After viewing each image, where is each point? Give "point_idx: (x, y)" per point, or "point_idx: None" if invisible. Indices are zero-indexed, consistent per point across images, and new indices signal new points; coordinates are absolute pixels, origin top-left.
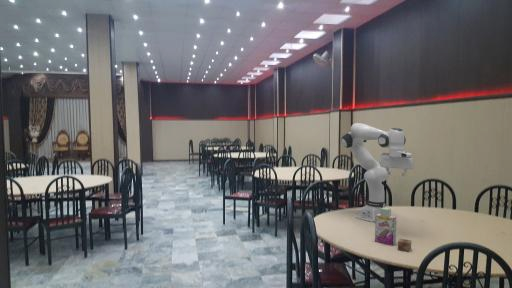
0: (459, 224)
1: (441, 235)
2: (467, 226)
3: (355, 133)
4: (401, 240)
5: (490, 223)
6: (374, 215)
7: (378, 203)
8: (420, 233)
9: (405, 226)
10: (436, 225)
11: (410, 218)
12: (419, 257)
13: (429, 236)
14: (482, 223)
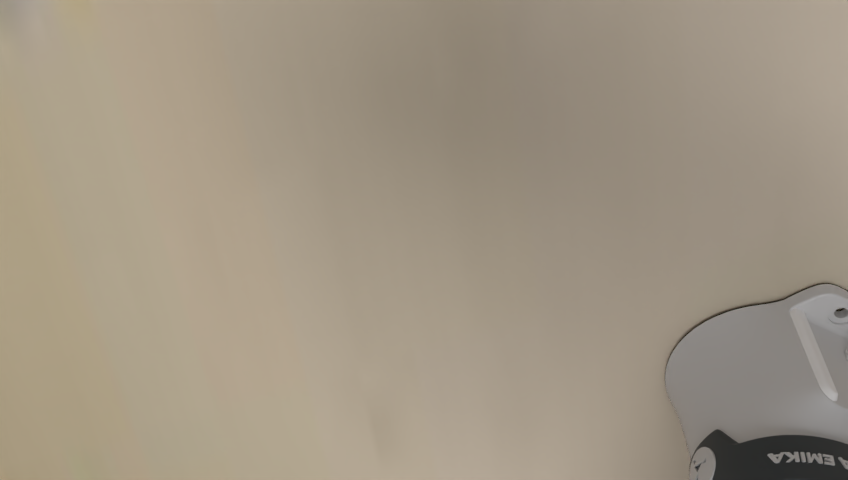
0: (150, 414)
1: (165, 106)
2: (98, 387)
3: None
4: None
5: (24, 473)
6: (802, 347)
7: (777, 471)
8: (323, 89)
9: (480, 251)
10: (267, 352)
11: (472, 466)
12: None
13: (236, 28)
14: (55, 464)
